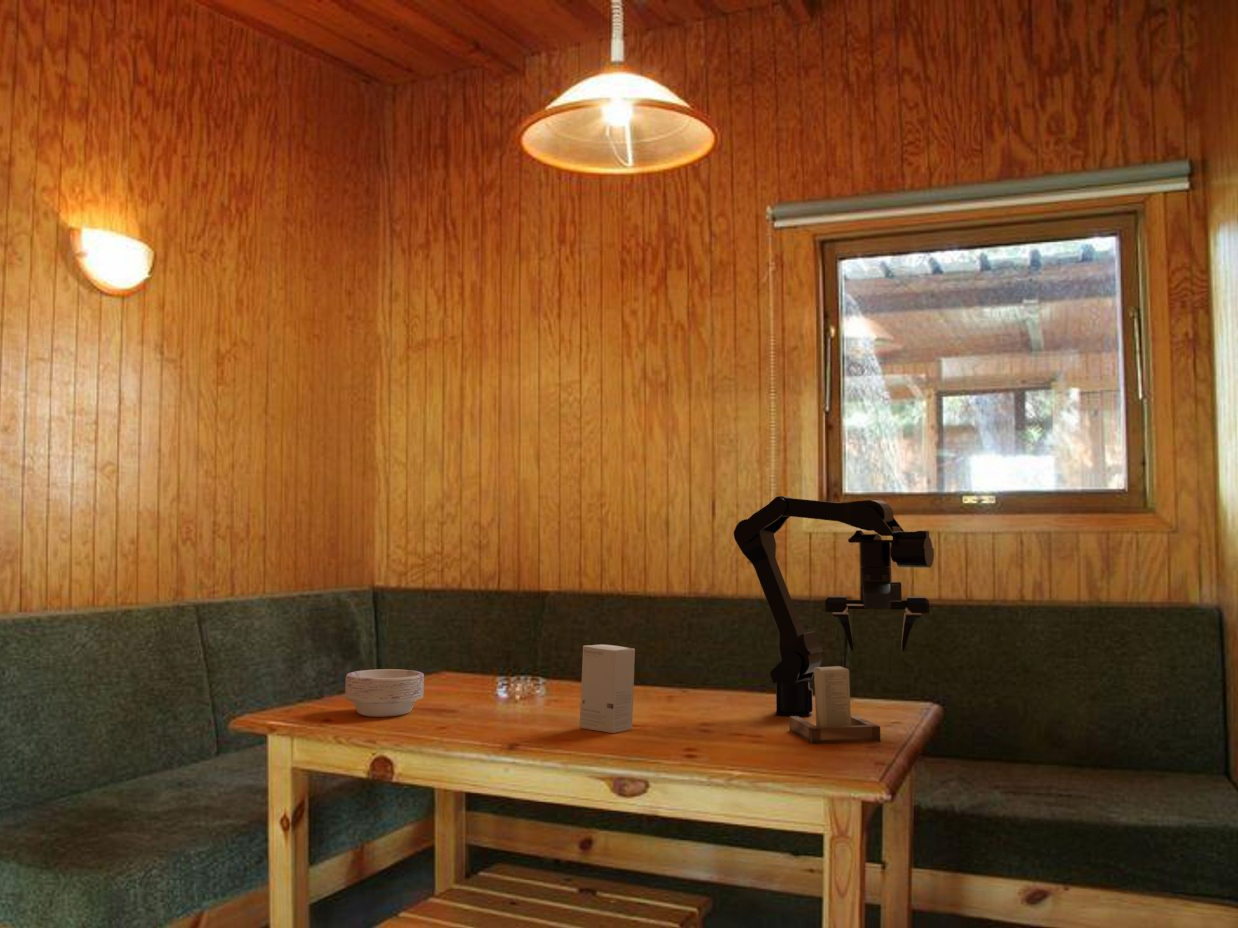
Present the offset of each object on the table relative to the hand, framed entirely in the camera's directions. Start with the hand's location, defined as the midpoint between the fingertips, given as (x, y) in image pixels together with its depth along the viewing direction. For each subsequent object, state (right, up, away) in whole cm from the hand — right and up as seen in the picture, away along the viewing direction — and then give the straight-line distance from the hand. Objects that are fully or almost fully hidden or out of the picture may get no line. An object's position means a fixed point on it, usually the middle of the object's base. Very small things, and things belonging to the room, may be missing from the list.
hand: (877, 651), depth 194 cm
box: (-11, -12, -14) cm, 21 cm away
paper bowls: (-94, -15, +12) cm, 96 cm away
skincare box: (-50, -13, -6) cm, 52 cm away
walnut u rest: (-11, -12, -14) cm, 21 cm away
